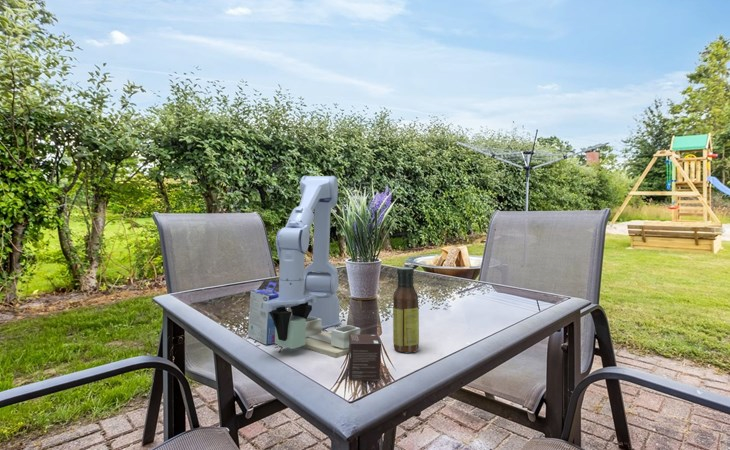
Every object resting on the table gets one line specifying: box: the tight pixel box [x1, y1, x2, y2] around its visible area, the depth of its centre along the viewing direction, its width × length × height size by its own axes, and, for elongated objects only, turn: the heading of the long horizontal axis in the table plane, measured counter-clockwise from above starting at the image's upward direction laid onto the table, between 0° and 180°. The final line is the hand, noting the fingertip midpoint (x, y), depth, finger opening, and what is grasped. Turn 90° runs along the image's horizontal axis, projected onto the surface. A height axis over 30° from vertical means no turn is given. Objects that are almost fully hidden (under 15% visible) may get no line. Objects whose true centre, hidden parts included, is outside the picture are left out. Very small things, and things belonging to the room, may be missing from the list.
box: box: [347, 333, 382, 382], centre depth 76 cm, size 6×6×7 cm
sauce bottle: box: [392, 266, 420, 353], centre depth 92 cm, size 7×6×20 cm
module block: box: [274, 314, 306, 350], centre depth 88 cm, size 4×6×6 cm, turn 52°
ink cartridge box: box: [247, 281, 287, 346], centre depth 97 cm, size 10×6×14 cm, turn 44°
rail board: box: [299, 317, 361, 359], centre depth 95 cm, size 11×17×5 cm, turn 52°
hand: (290, 337), depth 88 cm, fingers closed on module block, 4 cm apart
